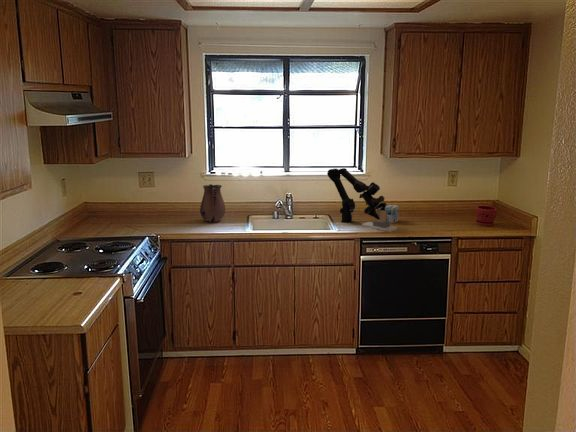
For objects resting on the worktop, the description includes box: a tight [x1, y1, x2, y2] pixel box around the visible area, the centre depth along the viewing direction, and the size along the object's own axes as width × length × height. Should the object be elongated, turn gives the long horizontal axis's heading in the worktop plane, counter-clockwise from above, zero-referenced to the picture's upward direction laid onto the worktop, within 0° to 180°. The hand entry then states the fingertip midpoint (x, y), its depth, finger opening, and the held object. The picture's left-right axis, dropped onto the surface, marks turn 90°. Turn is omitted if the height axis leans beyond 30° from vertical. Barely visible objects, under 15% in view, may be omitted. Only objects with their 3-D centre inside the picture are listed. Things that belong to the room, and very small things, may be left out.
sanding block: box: [372, 210, 391, 228], centre depth 324 cm, size 9×6×10 cm, turn 46°
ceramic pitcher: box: [199, 183, 226, 223], centre depth 344 cm, size 18×21×25 cm
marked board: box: [361, 221, 398, 233], centre depth 326 cm, size 22×8×2 cm, turn 46°
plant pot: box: [475, 205, 498, 227], centre depth 333 cm, size 13×13×12 cm
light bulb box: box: [385, 204, 400, 224], centre depth 343 cm, size 11×7×11 cm, turn 143°
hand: (382, 218), depth 323 cm, fingers open, 8 cm apart
